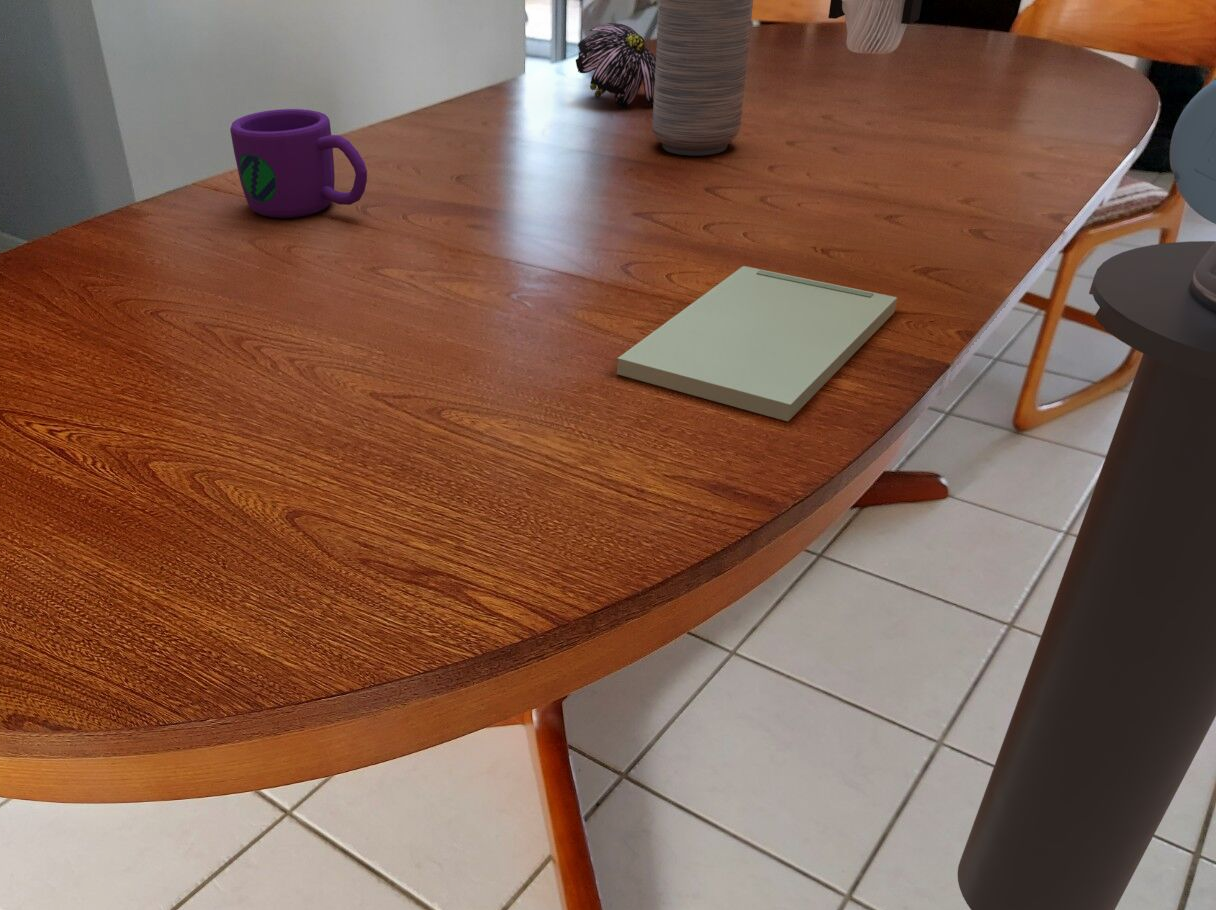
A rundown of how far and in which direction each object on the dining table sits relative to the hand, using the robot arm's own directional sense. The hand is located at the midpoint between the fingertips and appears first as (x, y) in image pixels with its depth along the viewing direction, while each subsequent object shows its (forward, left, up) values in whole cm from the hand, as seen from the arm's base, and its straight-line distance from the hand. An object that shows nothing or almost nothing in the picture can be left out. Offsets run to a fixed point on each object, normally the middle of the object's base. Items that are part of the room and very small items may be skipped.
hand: (873, 18), depth 100 cm
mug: (+55, +24, -21) cm, 64 cm away
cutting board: (-5, +30, -21) cm, 37 cm away
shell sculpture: (0, 0, -3) cm, 3 cm away
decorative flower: (+50, -40, -21) cm, 68 cm away
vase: (+28, -22, -21) cm, 41 cm away
